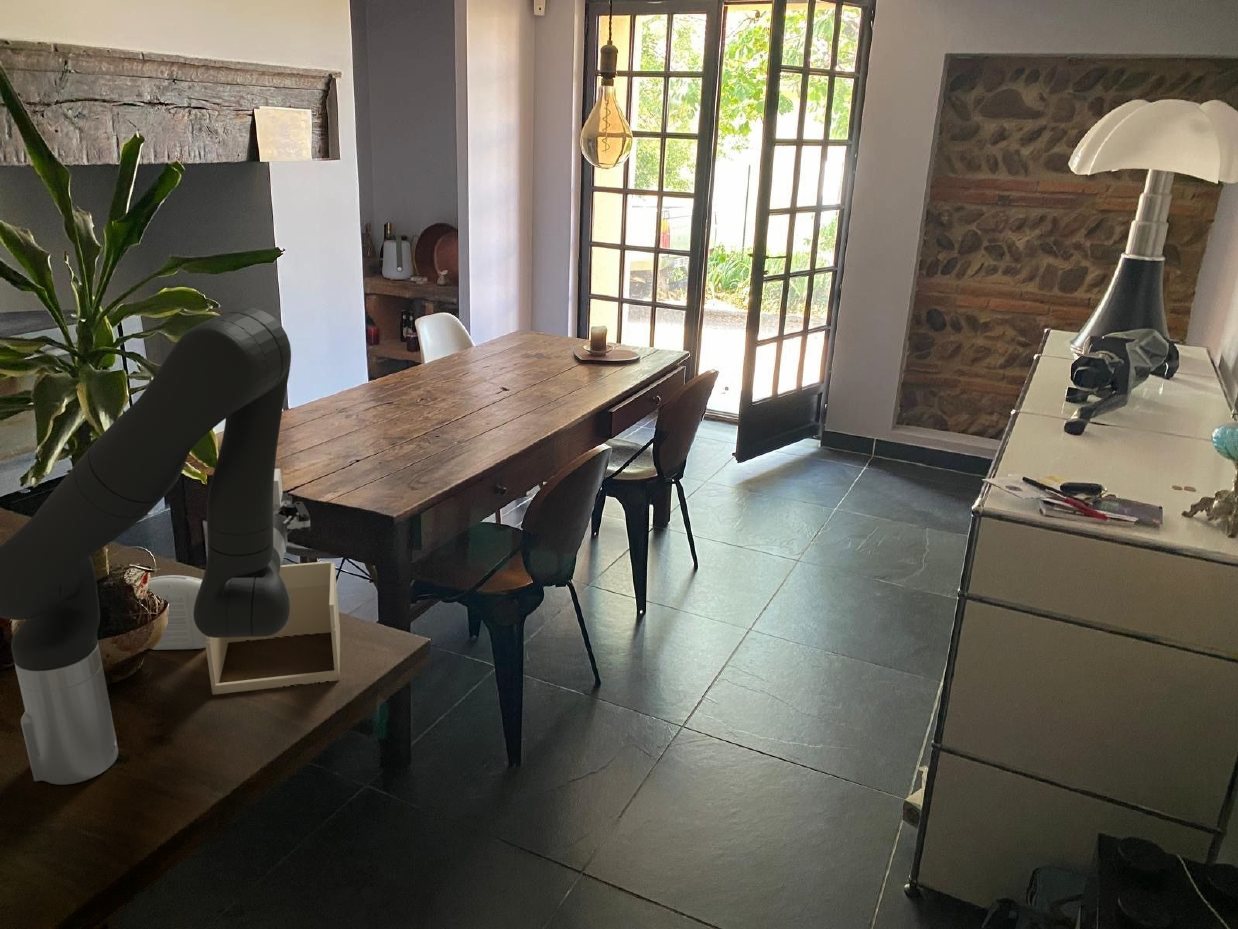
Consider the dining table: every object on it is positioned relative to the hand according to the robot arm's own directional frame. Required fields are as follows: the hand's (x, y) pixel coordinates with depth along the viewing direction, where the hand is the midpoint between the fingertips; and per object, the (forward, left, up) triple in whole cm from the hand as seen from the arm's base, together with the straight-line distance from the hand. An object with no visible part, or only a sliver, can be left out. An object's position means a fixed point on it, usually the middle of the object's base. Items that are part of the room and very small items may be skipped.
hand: (265, 499), depth 140 cm
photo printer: (-16, +5, -27) cm, 32 cm away
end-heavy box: (0, -3, -7) cm, 7 cm away
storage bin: (0, -3, -27) cm, 27 cm away
